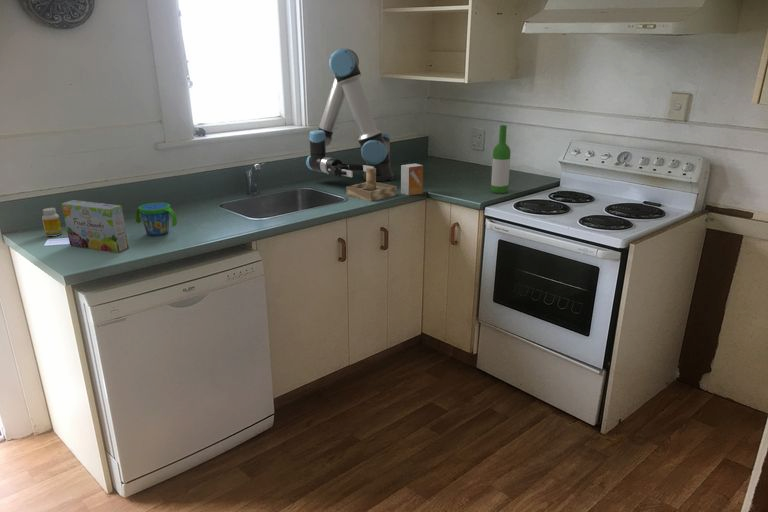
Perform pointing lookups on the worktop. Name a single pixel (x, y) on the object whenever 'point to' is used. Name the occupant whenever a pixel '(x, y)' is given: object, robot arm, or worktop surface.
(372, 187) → the peg
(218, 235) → the worktop surface
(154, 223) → the snack cup
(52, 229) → the supplement bottle
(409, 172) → the small box
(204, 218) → the worktop surface
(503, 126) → the wine bottle
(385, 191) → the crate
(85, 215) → the snack box
